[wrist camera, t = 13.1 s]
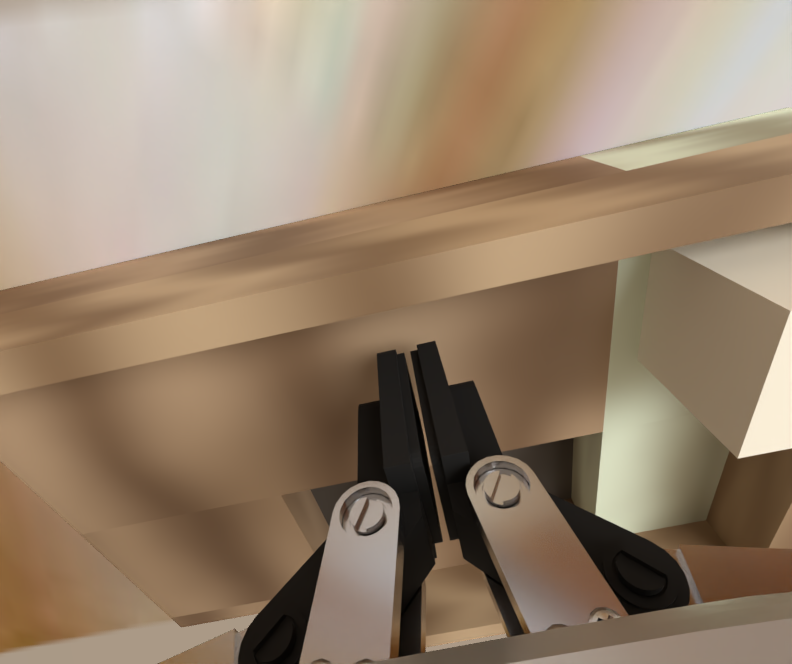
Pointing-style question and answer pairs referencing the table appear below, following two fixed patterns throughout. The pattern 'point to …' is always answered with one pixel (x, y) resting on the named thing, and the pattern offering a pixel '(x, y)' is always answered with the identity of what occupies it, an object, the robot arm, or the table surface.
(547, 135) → the table surface
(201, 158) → the table surface
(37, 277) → the table surface
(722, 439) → the ivory block
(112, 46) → the table surface
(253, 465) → the box
